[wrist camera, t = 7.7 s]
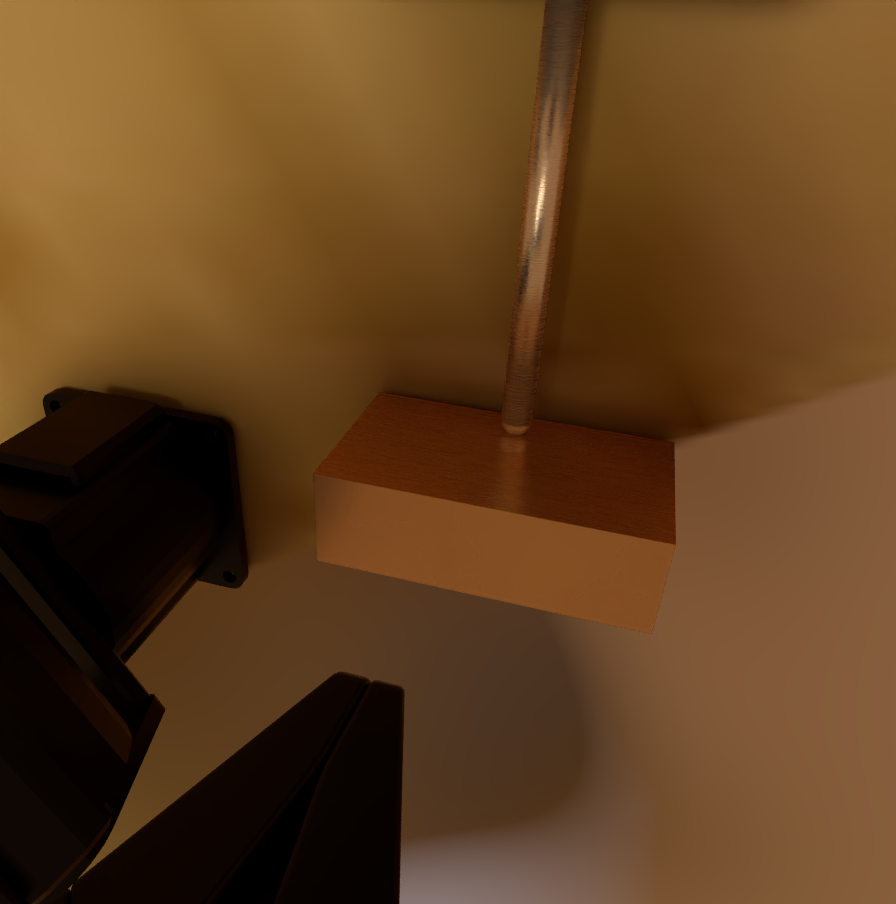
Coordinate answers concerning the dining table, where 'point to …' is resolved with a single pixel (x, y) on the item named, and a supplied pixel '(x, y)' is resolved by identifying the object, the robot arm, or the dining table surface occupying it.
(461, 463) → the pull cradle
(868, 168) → the dining table surface
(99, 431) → the robot arm
